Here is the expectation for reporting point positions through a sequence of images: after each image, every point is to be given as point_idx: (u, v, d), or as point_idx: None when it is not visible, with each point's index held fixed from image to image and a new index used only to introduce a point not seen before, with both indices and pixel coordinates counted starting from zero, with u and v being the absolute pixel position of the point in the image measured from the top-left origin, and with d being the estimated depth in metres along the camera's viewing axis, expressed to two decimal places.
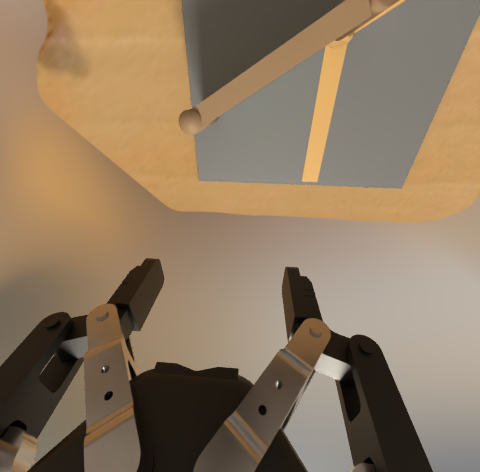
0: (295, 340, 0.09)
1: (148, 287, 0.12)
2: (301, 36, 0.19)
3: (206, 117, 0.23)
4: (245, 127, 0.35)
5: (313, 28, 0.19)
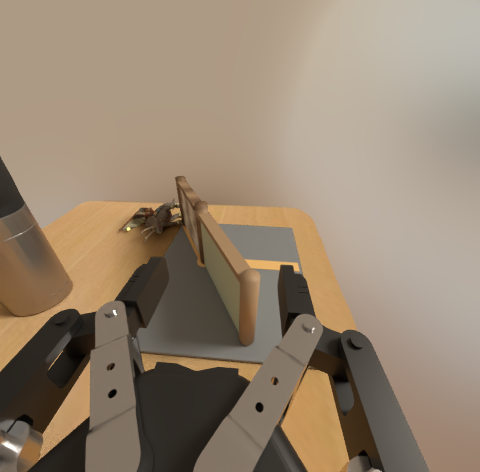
0: (288, 336, 0.09)
1: (154, 285, 0.12)
2: (209, 228, 0.35)
3: (246, 268, 0.27)
4: (258, 310, 0.37)
5: (208, 225, 0.36)
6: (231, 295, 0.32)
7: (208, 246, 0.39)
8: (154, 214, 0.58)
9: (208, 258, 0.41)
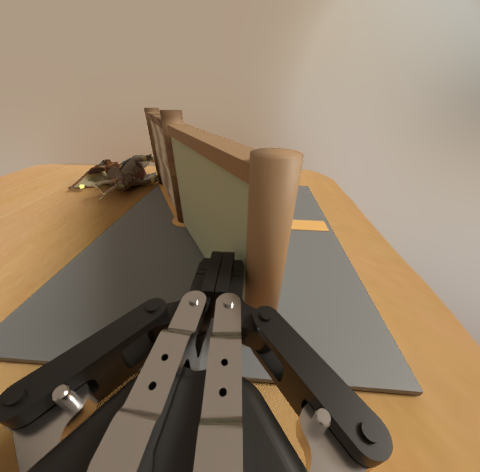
0: (217, 320, 0.09)
1: None
2: (183, 130, 0.19)
3: None
4: None
5: (180, 129, 0.20)
6: (227, 243, 0.16)
7: (184, 177, 0.23)
8: (119, 167, 0.42)
9: (187, 203, 0.25)
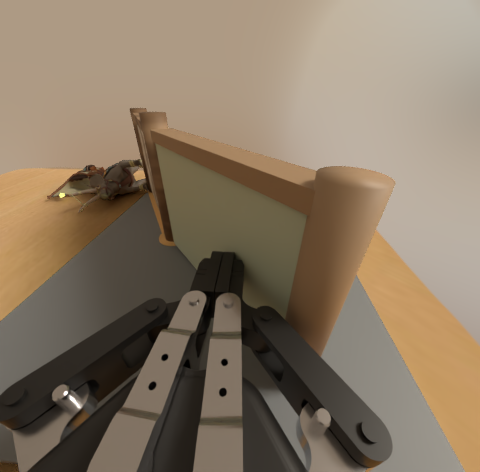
0: (217, 320, 0.09)
1: None
2: (178, 138, 0.16)
3: (314, 175, 0.09)
4: None
5: (173, 136, 0.16)
6: (251, 276, 0.13)
7: (178, 192, 0.19)
8: (103, 173, 0.38)
9: (180, 222, 0.21)
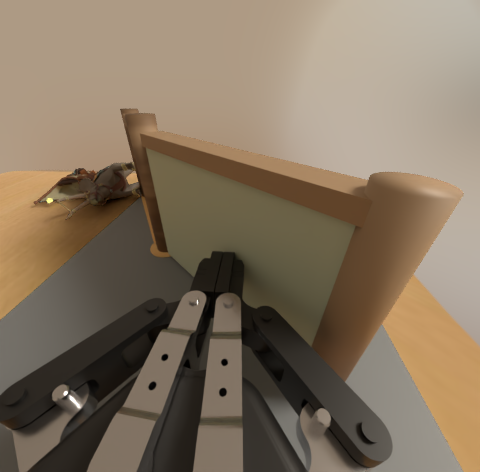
0: (217, 320, 0.09)
1: None
2: (178, 142, 0.14)
3: (355, 181, 0.08)
4: None
5: (170, 140, 0.15)
6: (273, 288, 0.13)
7: (176, 201, 0.18)
8: (94, 177, 0.36)
9: (178, 232, 0.20)
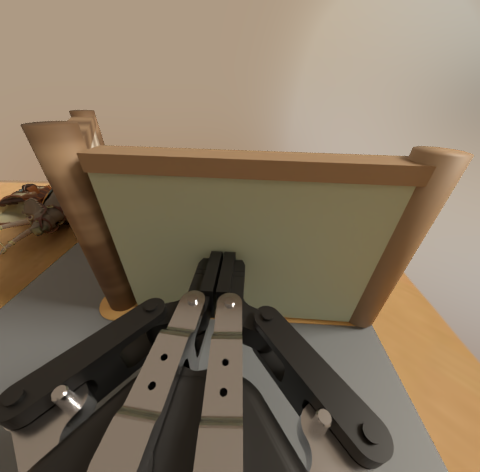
0: (218, 320, 0.09)
1: (218, 277, 0.13)
2: (184, 155, 0.11)
3: (395, 158, 0.11)
4: None
5: (163, 154, 0.11)
6: (328, 266, 0.14)
7: (170, 231, 0.14)
8: (45, 196, 0.29)
9: (168, 269, 0.15)
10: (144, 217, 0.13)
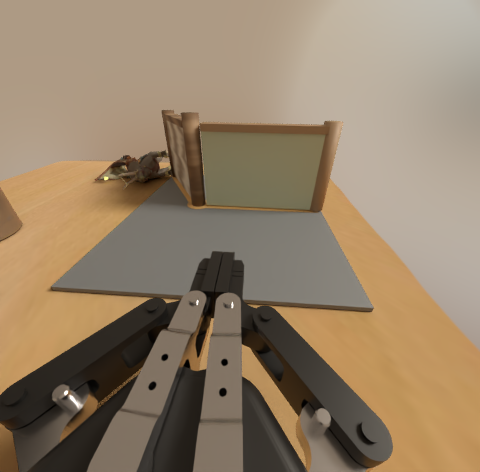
0: (217, 320, 0.09)
1: None
2: (239, 124, 0.30)
3: (319, 125, 0.30)
4: (268, 247, 0.27)
5: (231, 124, 0.30)
6: (296, 175, 0.33)
7: (229, 158, 0.32)
8: (137, 162, 0.48)
9: (225, 180, 0.34)
10: (219, 151, 0.32)
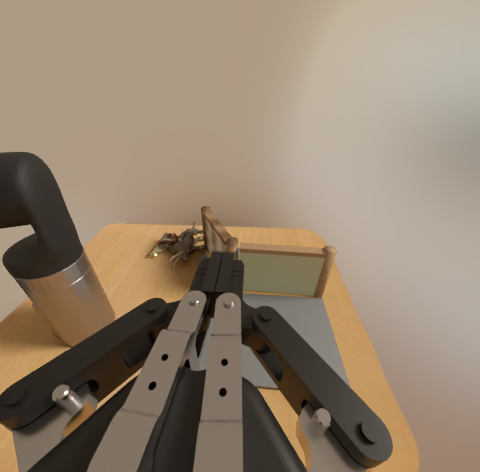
0: (217, 320, 0.09)
1: None
2: (266, 249, 0.44)
3: (320, 249, 0.44)
4: None
5: (261, 248, 0.44)
6: (304, 276, 0.47)
7: (258, 266, 0.46)
8: (179, 240, 0.62)
9: (253, 277, 0.48)
10: (251, 262, 0.46)
